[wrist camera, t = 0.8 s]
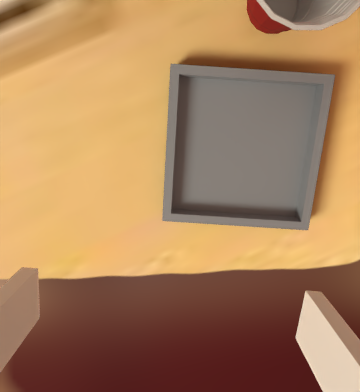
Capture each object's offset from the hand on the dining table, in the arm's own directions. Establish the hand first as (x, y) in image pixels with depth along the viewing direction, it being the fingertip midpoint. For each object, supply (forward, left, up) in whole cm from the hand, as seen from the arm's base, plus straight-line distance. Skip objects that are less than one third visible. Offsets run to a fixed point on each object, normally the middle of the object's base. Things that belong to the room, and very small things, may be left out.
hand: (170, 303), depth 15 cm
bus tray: (-6, +7, -25) cm, 26 cm away
